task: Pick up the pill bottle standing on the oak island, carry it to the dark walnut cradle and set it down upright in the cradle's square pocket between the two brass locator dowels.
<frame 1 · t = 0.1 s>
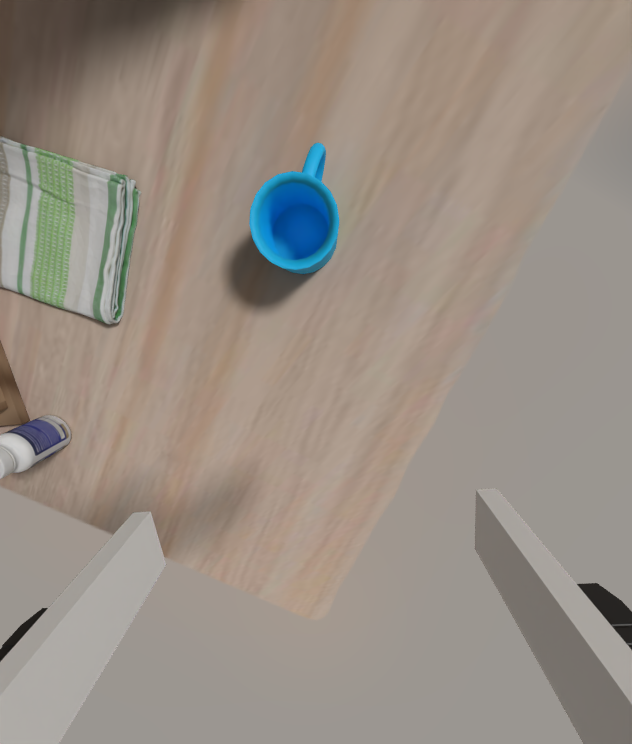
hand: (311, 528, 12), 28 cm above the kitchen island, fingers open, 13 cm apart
pill bottle: (55, 430, 44), on the kitchen island
dish towel: (44, 229, 38), on the kitchen island
mug: (306, 220, 35), on the kitchen island
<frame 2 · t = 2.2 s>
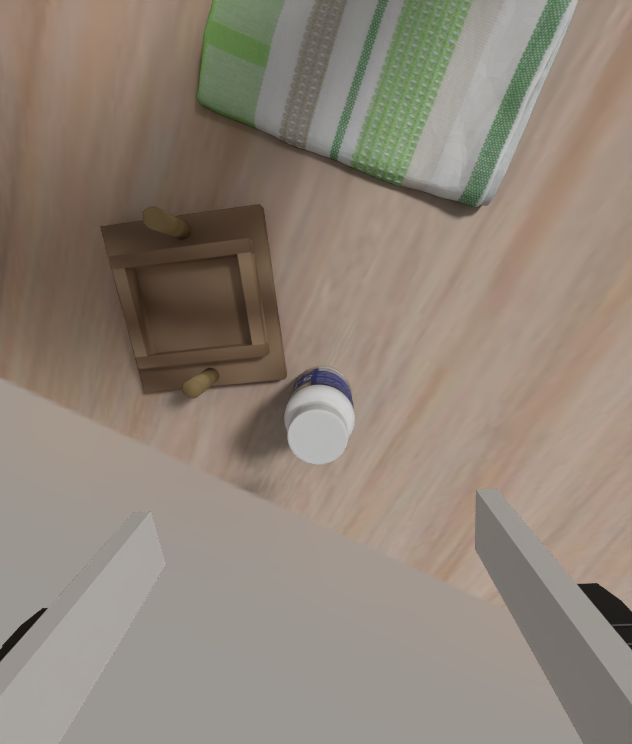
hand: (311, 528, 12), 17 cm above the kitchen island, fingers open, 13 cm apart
cradle: (203, 305, 27), on the kitchen island
pill bottle: (321, 392, 29), on the kitchen island
dish towel: (381, 40, 22), on the kitchen island
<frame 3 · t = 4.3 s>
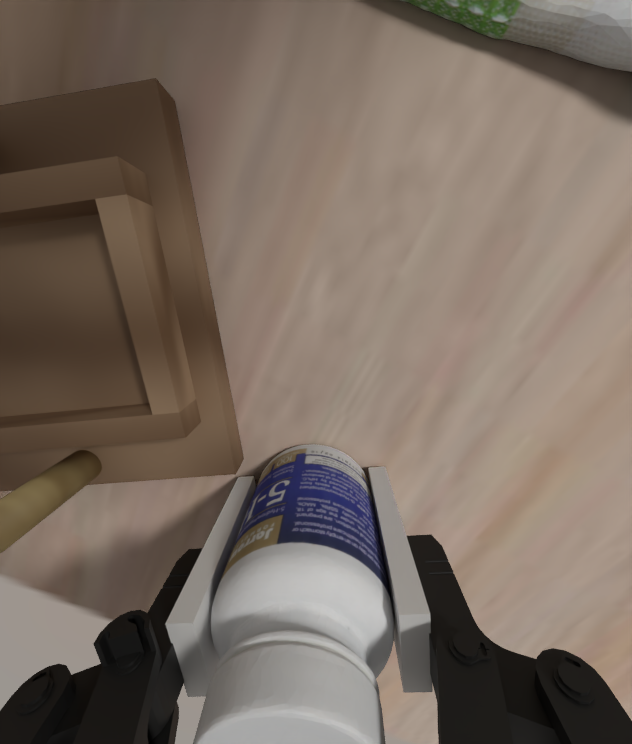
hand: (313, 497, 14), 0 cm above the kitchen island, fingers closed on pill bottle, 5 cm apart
cradle: (64, 322, 13), on the kitchen island
pill bottle: (313, 488, 15), on the kitchen island, touching gripper
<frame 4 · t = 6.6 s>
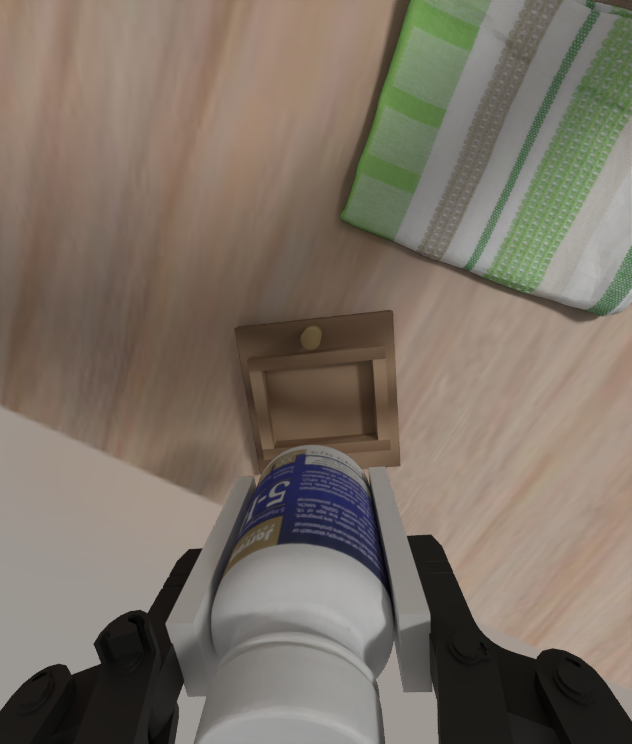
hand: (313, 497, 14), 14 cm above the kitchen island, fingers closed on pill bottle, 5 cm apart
cradle: (321, 395, 28), on the kitchen island
pill bottle: (313, 489, 15), point 14 cm above the kitchen island, touching gripper
dish towel: (517, 163, 23), on the kitchen island
when the fingers open (3 cm above the kitchen island, at t = 8.9 s): pill bottle stays where it is, resting on cradle.
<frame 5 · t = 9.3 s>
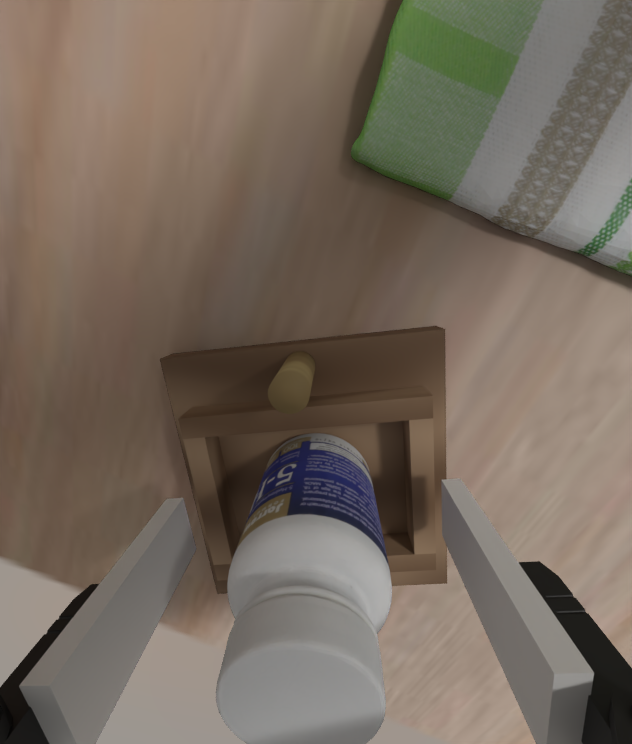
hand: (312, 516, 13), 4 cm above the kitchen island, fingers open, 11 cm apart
cradle: (316, 467, 17), on the kitchen island
pill bottle: (317, 475, 16), point 1 cm above the kitchen island, touching cradle
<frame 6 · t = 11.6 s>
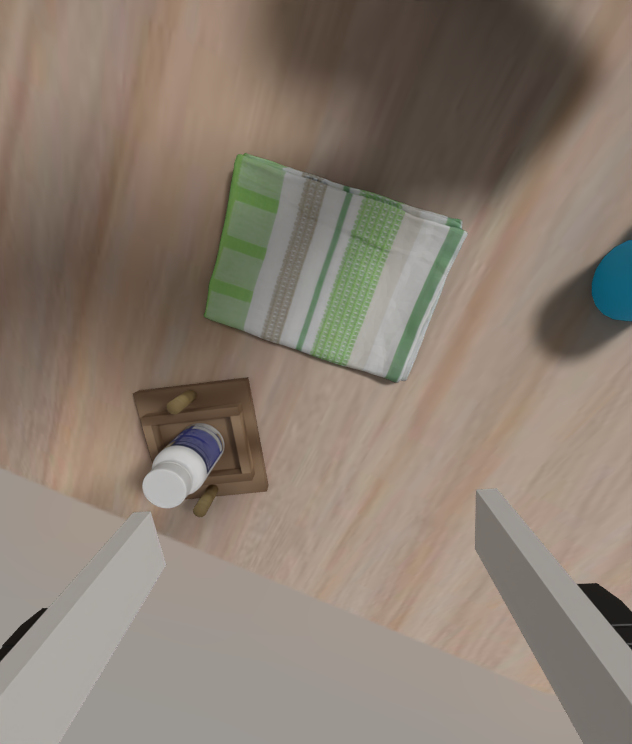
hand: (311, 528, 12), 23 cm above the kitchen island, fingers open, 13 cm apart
cradle: (205, 439, 37), on the kitchen island
pill bottle: (203, 442, 36), point 1 cm above the kitchen island, touching cradle
dish towel: (328, 277, 33), on the kitchen island
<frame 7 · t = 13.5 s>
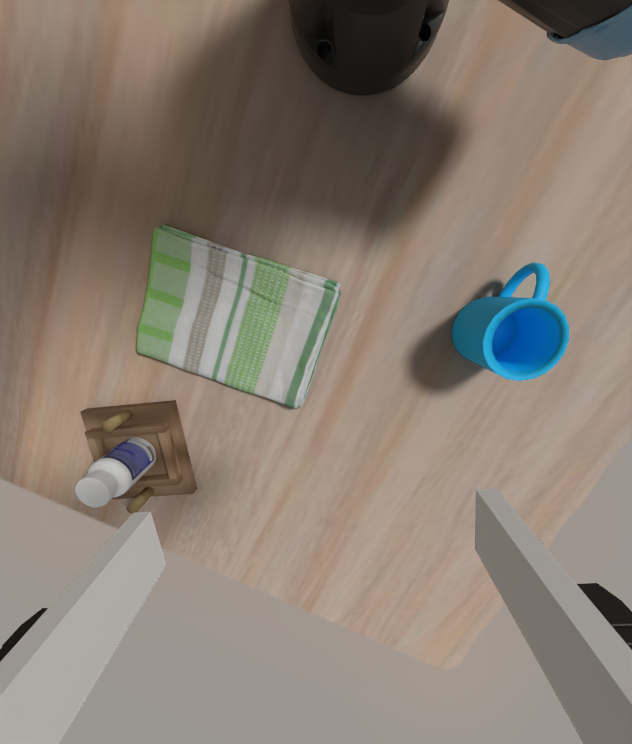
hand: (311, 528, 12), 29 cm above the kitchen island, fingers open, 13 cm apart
cradle: (143, 449, 45), on the kitchen island
pill bottle: (139, 452, 44), point 1 cm above the kitchen island, touching cradle
dish towel: (238, 321, 40), on the kitchen island
mug: (491, 315, 38), on the kitchen island
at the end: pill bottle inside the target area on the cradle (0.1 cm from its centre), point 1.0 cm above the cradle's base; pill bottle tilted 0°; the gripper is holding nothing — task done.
